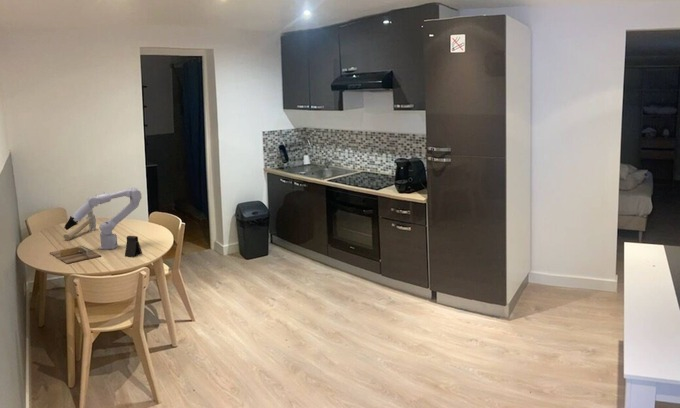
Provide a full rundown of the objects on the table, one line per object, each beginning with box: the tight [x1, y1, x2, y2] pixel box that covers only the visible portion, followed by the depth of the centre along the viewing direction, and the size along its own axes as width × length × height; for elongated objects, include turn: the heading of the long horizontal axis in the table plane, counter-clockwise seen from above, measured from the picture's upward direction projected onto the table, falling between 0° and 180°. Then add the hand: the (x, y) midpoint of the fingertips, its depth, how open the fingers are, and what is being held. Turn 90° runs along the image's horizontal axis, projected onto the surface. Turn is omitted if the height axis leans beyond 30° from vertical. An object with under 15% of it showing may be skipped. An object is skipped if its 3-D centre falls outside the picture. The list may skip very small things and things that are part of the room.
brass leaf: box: [59, 245, 83, 257], centre depth 331 cm, size 13×2×4 cm, turn 136°
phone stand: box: [124, 235, 143, 258], centre depth 334 cm, size 9×6×12 cm, turn 164°
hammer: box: [63, 208, 97, 241], centre depth 377 cm, size 16×5×30 cm
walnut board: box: [49, 245, 102, 265], centre depth 333 cm, size 28×20×1 cm
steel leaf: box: [78, 247, 89, 257], centre depth 331 cm, size 13×2×4 cm, turn 46°
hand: (65, 228), depth 334 cm, fingers open, 7 cm apart
